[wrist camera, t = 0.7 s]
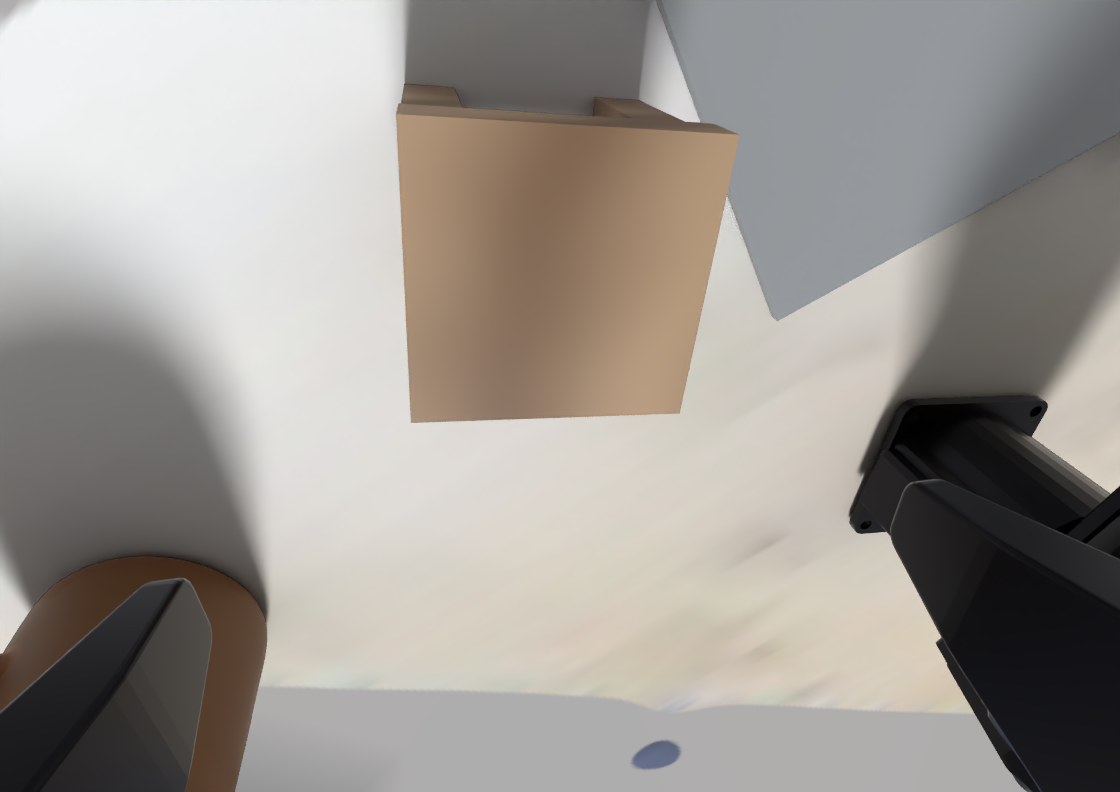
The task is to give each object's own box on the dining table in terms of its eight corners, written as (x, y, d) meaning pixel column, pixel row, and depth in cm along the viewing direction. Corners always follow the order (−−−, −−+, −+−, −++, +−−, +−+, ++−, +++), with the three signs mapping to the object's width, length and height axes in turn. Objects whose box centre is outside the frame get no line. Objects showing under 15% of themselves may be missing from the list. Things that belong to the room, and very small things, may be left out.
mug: (-164, 580, 20) (-549, 964, 12) (-30, 434, 18) (-373, 768, 10) (191, 709, 26) (92, 1018, 18) (316, 609, 24) (267, 902, 16)
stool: (639, 91, 17) (739, 134, 11) (611, 304, 20) (679, 413, 14) (404, 74, 15) (396, 114, 10) (413, 303, 18) (411, 422, 13)
